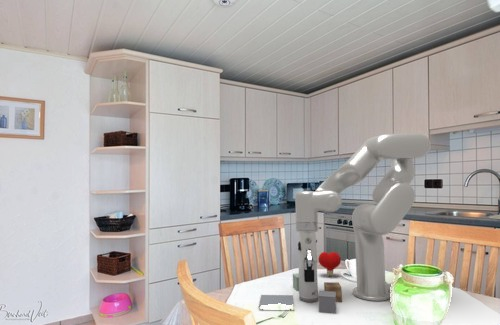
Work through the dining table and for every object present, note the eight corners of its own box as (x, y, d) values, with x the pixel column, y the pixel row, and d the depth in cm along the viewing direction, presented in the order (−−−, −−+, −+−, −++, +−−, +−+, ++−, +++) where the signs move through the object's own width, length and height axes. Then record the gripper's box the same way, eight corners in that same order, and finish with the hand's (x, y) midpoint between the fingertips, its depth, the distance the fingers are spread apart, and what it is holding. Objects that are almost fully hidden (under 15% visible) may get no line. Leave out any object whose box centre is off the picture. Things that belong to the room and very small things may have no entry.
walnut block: (339, 297, 111) (338, 282, 111) (341, 302, 106) (341, 287, 106) (324, 297, 111) (324, 282, 111) (326, 302, 106) (326, 287, 106)
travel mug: (319, 302, 105) (317, 241, 107) (299, 301, 107) (297, 241, 108) (318, 296, 112) (317, 238, 113) (299, 295, 113) (298, 238, 114)
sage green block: (305, 286, 123) (305, 272, 123) (310, 290, 118) (309, 276, 118) (293, 287, 122) (292, 273, 123) (297, 291, 117) (296, 277, 118)
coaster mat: (292, 298, 110) (292, 295, 110) (294, 310, 99) (294, 307, 99) (261, 297, 111) (261, 294, 111) (258, 310, 100) (258, 307, 100)
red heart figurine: (320, 278, 132) (319, 254, 132) (317, 274, 138) (316, 250, 139) (343, 278, 131) (342, 253, 132) (339, 273, 138) (338, 250, 139)
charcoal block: (336, 307, 101) (335, 291, 102) (335, 314, 97) (335, 297, 97) (320, 306, 103) (319, 290, 103) (319, 312, 98) (318, 295, 98)
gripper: (320, 230, 102) (322, 286, 101) (315, 223, 119) (316, 270, 118) (297, 230, 102) (298, 285, 101) (295, 223, 120) (296, 270, 119)
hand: (308, 277), depth 110 cm, fingers open, 8 cm apart
